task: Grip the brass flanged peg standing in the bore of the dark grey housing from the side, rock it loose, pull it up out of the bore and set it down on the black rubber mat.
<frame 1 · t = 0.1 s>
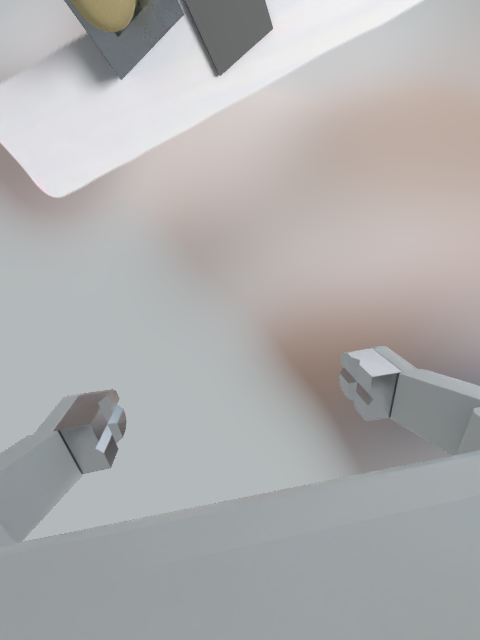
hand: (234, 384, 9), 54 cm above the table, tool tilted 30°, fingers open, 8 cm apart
mat: (228, 9, 36), on the table
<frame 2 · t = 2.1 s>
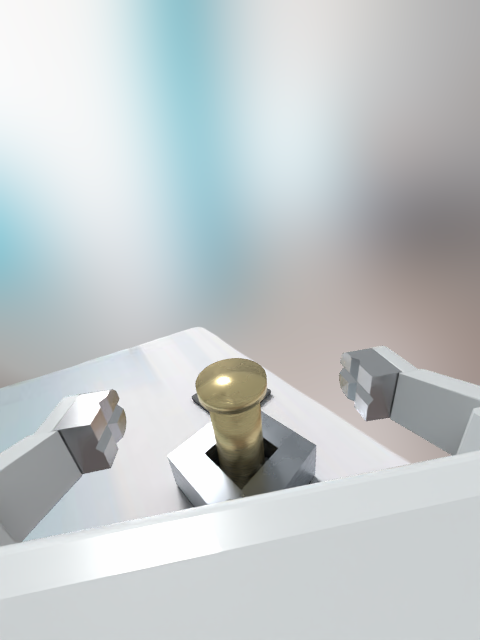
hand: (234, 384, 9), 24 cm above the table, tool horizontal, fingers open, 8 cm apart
brass flanged peg: (243, 468, 28), point 2 cm above the table, touching housing
housing: (244, 479, 29), on the table
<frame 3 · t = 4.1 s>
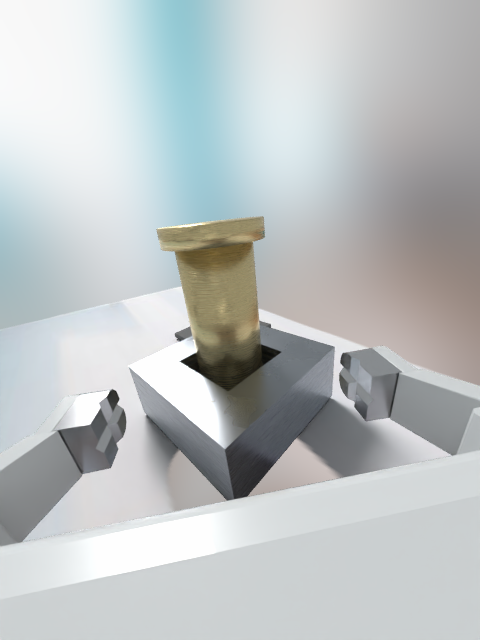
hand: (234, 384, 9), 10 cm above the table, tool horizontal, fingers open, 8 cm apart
brass flanged peg: (234, 385, 21), point 2 cm above the table, touching housing
housing: (236, 403, 22), on the table
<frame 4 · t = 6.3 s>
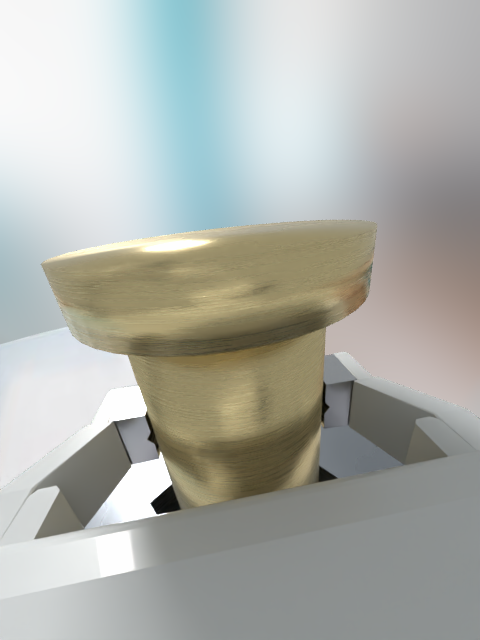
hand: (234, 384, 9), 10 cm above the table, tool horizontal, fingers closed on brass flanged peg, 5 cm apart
brass flanged peg: (256, 536, 11), point 2 cm above the table, touching gripper, housing
housing: (259, 558, 12), on the table
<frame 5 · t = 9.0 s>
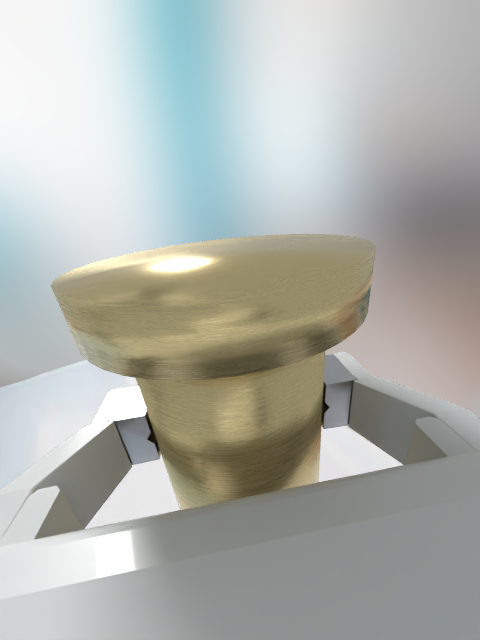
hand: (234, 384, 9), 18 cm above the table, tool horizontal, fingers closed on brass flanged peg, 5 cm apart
brass flanged peg: (256, 541, 11), point 9 cm above the table, touching gripper
when the fingers open (11 cm above the table, at t = 11.7 s): brass flanged peg drops 1 cm, resting on mat.
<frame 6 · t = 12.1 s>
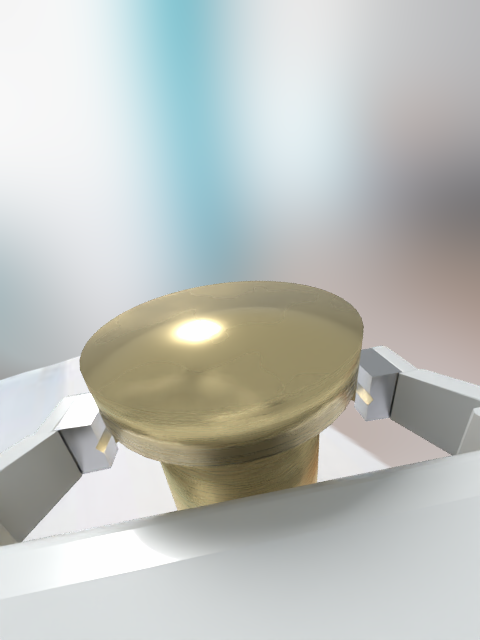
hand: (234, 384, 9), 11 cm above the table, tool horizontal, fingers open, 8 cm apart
brass flanged peg: (257, 560, 12), point 1 cm above the table, touching mat
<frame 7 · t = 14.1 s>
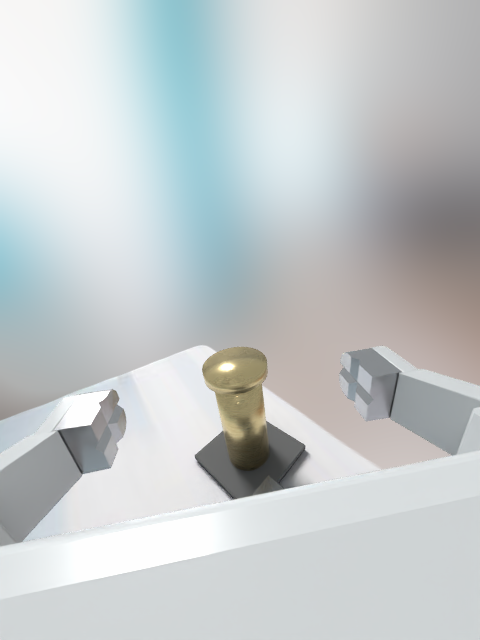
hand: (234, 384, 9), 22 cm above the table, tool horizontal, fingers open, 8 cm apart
brass flanged peg: (248, 450, 30), point 1 cm above the table, touching mat
mat: (249, 453, 31), on the table
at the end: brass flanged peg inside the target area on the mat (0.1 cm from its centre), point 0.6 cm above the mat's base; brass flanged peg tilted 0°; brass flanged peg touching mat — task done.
